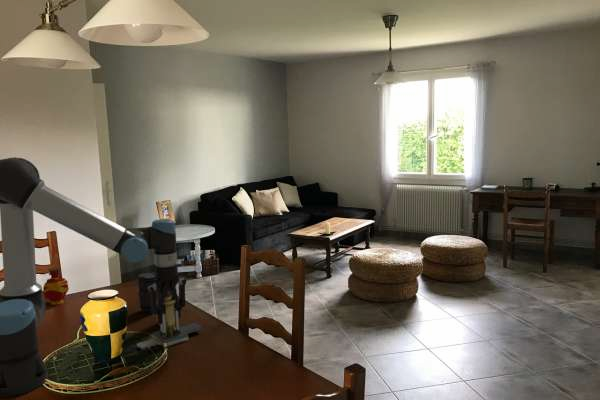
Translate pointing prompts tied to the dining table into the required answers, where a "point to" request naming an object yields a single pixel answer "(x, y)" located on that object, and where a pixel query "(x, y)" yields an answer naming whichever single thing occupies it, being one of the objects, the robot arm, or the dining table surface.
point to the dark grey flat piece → (179, 337)
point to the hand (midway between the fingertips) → (169, 329)
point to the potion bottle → (55, 287)
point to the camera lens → (145, 291)
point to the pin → (169, 316)
